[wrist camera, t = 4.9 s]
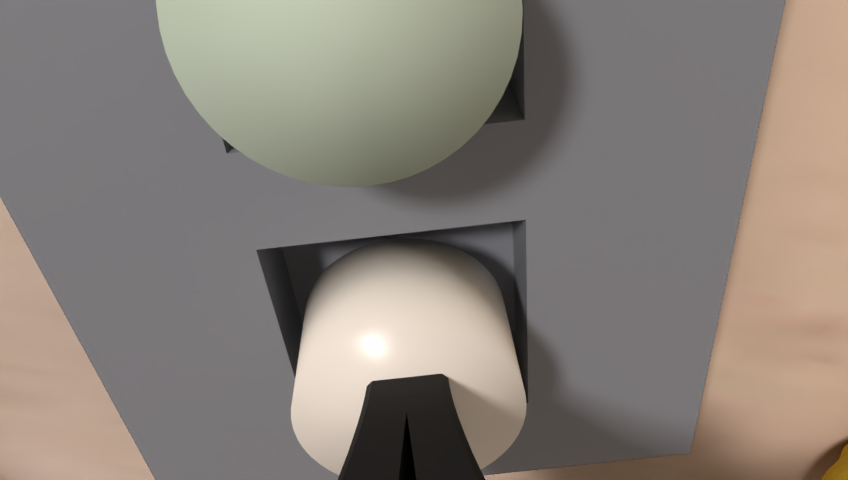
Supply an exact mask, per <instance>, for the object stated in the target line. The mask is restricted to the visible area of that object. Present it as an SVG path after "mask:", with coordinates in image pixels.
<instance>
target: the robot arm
mask: <svg viewBox="0 0 848 480" xmlns="http://www.w3.org/2000/svg"><path fill="white" fill-rule="evenodd" d="M338 480H485V478H484V476H483V474H482V472H481V470H480V467H479V465H478V463H477V461H476V459H475V457H474V454H473V452H472V450H471V448H470V445H469V443H468V441H467V438H466V436H465V433H464V430H463V428H462V425H461V422H460V420H459V417H458V414H457V411H456V408H455V405H454V401H453V398H452V394H451V390H450V385H449V379H448V377H447V376H445V375H443V374H442V373H441V374H432V375H423V376H414V377H405V378H395V379H386V380H377V381H372V382H371V383H370V384H369V385H368V386H367V388H366V393H365V398H364V402H363V406H362V410H361V413H360V417H359V420H358V424H357V427H356V430H355V433H354V436H353V439H352V442H351V445H350V448H349V451H348V454H347V456H346V459H345V462H344V464H343V467H342V470H341V472H340V475H339V477H338Z"/></svg>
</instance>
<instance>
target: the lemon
mask: <svg viewBox="0 0 848 480" xmlns="http://www.w3.org/2000/svg"><path fill="white" fill-rule="evenodd" d="M821 480H848V444H846V445H845V446H844V447H843V449H842V452H841V455H840V458H839V460H838V461H837V462H835V463H834V464H833V465H832V466H831V467H830V468H829V469H828V470H827V471H826V473H825V474H824V475H823V477H822V478H821Z"/></svg>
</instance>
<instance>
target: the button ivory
mask: <svg viewBox="0 0 848 480" xmlns="http://www.w3.org/2000/svg"><path fill="white" fill-rule="evenodd" d="M441 373H442V374H443V375H445V376H447V377H448V379H449V385H450V390H451V394H452V398H453V401H454V405H455V408H456V411H457V414H458V417H459V420H460V422H461V425H462V428H463V430H464V433H465V436H466V438H467V441H468V443H469V445H470V448H471V450H472V452H473V454H474V457H475V459H476V461H477V463H478V465H479V467H480V470H481V469H483V468H485V467H486V466H488V465H489V464H491V463H492V462H494V461H495V460H496V459H497V458H499V457H500V456H501V455H502V454H503V453H504V452H505V451H506V450H507V449H508V448H509V447H510V446H511V445H512V444H513V442H514V441H515V439H516V438H517V436H518V435H519V433H520V431H521V428H522V426H523V423H524V420H525V416H526V406H527V404H526V395H525V390H524V386H523V382H522V378H521V373H520V369H519V365H518V360H517V356H516V352H515V347H514V343H513V339H512V334H511V330H510V326H509V321H508V317H507V313H506V308H505V304H504V300H503V296H502V293H501V290H500V288H499V286H498V284H497V282H496V280H495V279H494V277H493V276H492V274H491V273H490V272H489V271H488V270H487V269H486V268H485V267H484V266H483V265H482V264H481V263H480V262H479V261H478V260H476V259H475V258H474V257H472V256H471V255H469V254H467V253H465V252H464V251H462V250H460V249H458V248H455V247H453V246H450V245H448V244H444V243H440V242H437V241H432V240H426V239H415V238H401V239H390V240H384V241H378V242H375V243H371V244H368V245H364V246H362V247H360V248H357V249H355V250H352V251H351V252H349V253H347V254H345V255H343V256H342V257H340V258H339V259H337V260H336V261H335V262H333V263H332V264H331V265H330V266H329V267H328V268H327V269H326V270H325V271H324V272H323V273H322V274H321V275H320V276H319V278H318V279H317V280H316V282H315V283H314V285H313V287H312V289H311V291H310V293H309V296H308V299H307V302H306V308H305V315H304V322H303V329H302V336H301V342H300V349H299V356H298V363H297V370H296V377H295V384H294V391H293V398H292V405H291V421H292V426H293V430H294V432H295V435H296V437H297V439H298V441H299V443H300V444H301V446H302V447H303V449H304V450H305V451H306V452H307V453H308V454H309V455H310V456H311V457H312V458H313V459H314V460H315V461H317V462H318V463H319V464H320V465H322V466H323V467H325V468H326V469H328V470H329V471H331V472H333V473H335V474H337V475H340V472H341V470H342V467H343V464H344V462H345V459H346V456H347V454H348V451H349V448H350V445H351V442H352V439H353V436H354V433H355V430H356V427H357V424H358V420H359V417H360V413H361V410H362V406H363V402H364V398H365V393H366V388H367V386H368V385H369V384H370V383H371V382H372V381H377V380H386V379H395V378H405V377H414V376H423V375H432V374H441Z"/></svg>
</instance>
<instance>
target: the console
mask: <svg viewBox="0 0 848 480" xmlns="http://www.w3.org/2000/svg"><path fill="white" fill-rule="evenodd" d="M784 5H785V0H522V7H523V16H522V35H521V40H520V46H519V51H518V57H517V60H516V63H515V66H514V69H513V72H512V76H511V78H510V81H509V83H508V85H507V87H506V89H505V91H504V94H503V96H502V98H501V99H500V101H499V103H498V104H497V106H496V107H495V109H494V111H493V112H492V114H491V115H490V117H489V118H488V119H487V120H486V122H485V123H484V124H483V125H482V127H481V128H480V129H479V130H478V131H477V133H476V134H475V135H473V136H472V137H471V138H470V139H469V140H468V141H467V142H466V143H465V144H464V145H463V146H462V147H461V148H459V149H458V150H457V151H455V152H454V153H453V154H451V155H450V156H449V157H447V158H446V159H444V160H443V161H441V162H439V163H437V164H436V165H434V166H432V167H430V168H429V169H427V170H424V171H422V172H420V173H417V174H415V175H412V176H410V177H407V178H404V179H400V180H397V181H393V182H390V183H384V184H379V185H373V186H361V187H338V186H326V185H320V184H314V183H308V182H305V181H301V180H298V179H294V178H291V177H288V176H285V175H283V174H280V173H278V172H275V171H273V170H271V169H268V168H266V167H265V166H263V165H261V164H259V163H257V162H255V161H254V160H252V159H250V158H248V157H247V156H245V155H244V154H243V153H241V152H240V151H238V150H237V149H236V148H234V147H233V146H231V145H230V144H229V143H228V142H227V141H226V140H224V139H223V138H222V137H221V136H220V135H219V134H218V133H216V132H215V131H214V130H213V129H212V127H211V126H210V125H209V124H208V123H207V122H206V121H205V120H204V119H203V117H202V116H201V115H200V114H199V113H198V111H197V110H196V109H195V107H194V106H193V104H192V103H191V102H190V100H189V99H188V97H187V96H186V95H185V93H184V91H183V89H182V87H181V85H180V84H179V82H178V80H177V78H176V76H175V75H174V72H173V70H172V67H171V65H170V62H169V60H168V57H167V55H166V52H165V49H164V45H163V41H162V37H161V33H160V30H159V23H158V15H157V8H156V0H0V197H1V199H2V201H3V203H4V204H5V206H6V208H7V210H8V212H9V214H10V215H11V217H12V219H13V221H14V223H15V225H16V226H17V228H18V230H19V232H20V234H21V235H22V237H23V239H24V241H25V243H26V245H27V246H28V248H29V250H30V252H31V254H32V256H33V257H34V259H35V261H36V263H37V265H38V267H39V268H40V270H41V272H42V274H43V276H44V277H45V279H46V281H47V283H48V285H49V287H50V288H51V290H52V292H53V294H54V296H55V298H56V299H57V301H58V303H59V305H60V307H61V308H62V310H63V312H64V314H65V316H66V318H67V319H68V321H69V323H70V325H71V327H72V329H73V330H74V332H75V334H76V336H77V338H78V340H79V341H80V343H81V345H82V347H83V349H84V350H85V352H86V354H87V356H88V358H89V360H90V361H91V363H92V365H93V367H94V369H95V371H96V372H97V374H98V376H99V378H100V380H101V381H102V383H103V385H104V387H105V389H106V391H107V392H108V394H109V396H110V398H111V400H112V402H113V403H114V405H115V407H116V409H117V411H118V412H119V414H120V416H121V418H122V420H123V422H124V423H125V425H126V427H127V429H128V431H129V433H130V434H131V436H132V438H133V440H134V442H135V444H136V445H137V447H138V449H139V451H140V453H141V454H142V456H143V458H144V460H145V462H146V464H147V465H148V467H149V469H150V471H151V473H152V475H153V476H154V478H155V480H338V477H339V475H337V474H335V473H333V472H331V471H329V470H328V469H326V468H325V467H323V466H322V465H320V464H319V463H318V462H317V461H315V460H314V459H313V458H312V457H311V456H310V455H309V454H308V453H307V452H306V451H305V450H304V449H303V447H302V446H301V444H300V443H299V441H298V439H297V437H296V435H295V432H294V430H293V426H292V421H291V405H292V398H293V391H294V384H295V377H296V370H297V363H298V356H299V349H300V342H301V336H302V329H303V322H304V315H305V308H306V302H307V299H308V296H309V293H310V291H311V289H312V287H313V285H314V283H315V282H316V280H317V279H318V278H319V276H320V275H321V274H322V273H323V272H324V271H325V270H326V269H327V268H328V267H329V266H330V265H331V264H332V263H333V262H335V261H336V260H337V259H339V258H340V257H342V256H343V255H345V254H347V253H349V252H351V251H352V250H355V249H357V248H360V247H362V246H364V245H368V244H371V243H375V242H378V241H384V240H390V239H401V238H415V239H426V240H432V241H437V242H440V243H444V244H448V245H450V246H453V247H455V248H458V249H460V250H462V251H464V252H465V253H467V254H469V255H471V256H472V257H474V258H475V259H476V260H478V261H479V262H480V263H481V264H482V265H483V266H484V267H485V268H486V269H487V270H488V271H489V272H490V273H491V274H492V276H493V277H494V279H495V280H496V282H497V284H498V286H499V288H500V290H501V293H502V296H503V300H504V304H505V308H506V313H507V317H508V321H509V326H510V330H511V334H512V339H513V343H514V347H515V352H516V356H517V360H518V365H519V369H520V373H521V378H522V382H523V386H524V390H525V395H526V404H527V406H526V416H525V420H524V423H523V426H522V428H521V431H520V433H519V435H518V436H517V438H516V439H515V441H514V442H513V444H512V445H511V446H510V447H509V448H508V449H507V450H506V451H505V452H504V453H503V454H502V455H501V456H500V457H499V458H497V459H496V460H495V461H494V462H492V463H491V464H489V465H488V466H486V467H485V468H483V469H481V472H482V474H483V475H491V474H501V473H510V472H519V471H529V470H538V469H548V468H557V467H567V466H576V465H586V464H595V463H605V462H614V461H624V460H633V459H643V458H652V457H662V456H671V455H680V454H690V452H691V447H692V443H693V438H694V433H695V428H696V424H697V419H698V414H699V409H700V404H701V400H702V395H703V390H704V385H705V381H706V376H707V371H708V366H709V362H710V357H711V352H712V347H713V343H714V338H715V333H716V328H717V324H718V319H719V314H720V309H721V305H722V300H723V295H724V290H725V286H726V281H727V276H728V271H729V266H730V262H731V257H732V252H733V247H734V243H735V238H736V233H737V228H738V224H739V219H740V214H741V209H742V205H743V200H744V195H745V190H746V186H747V181H748V176H749V171H750V167H751V162H752V157H753V152H754V147H755V143H756V138H757V133H758V128H759V124H760V119H761V114H762V109H763V105H764V100H765V95H766V90H767V86H768V81H769V76H770V71H771V67H772V62H773V57H774V52H775V48H776V43H777V38H778V33H779V29H780V24H781V19H782V14H783V9H784Z"/></svg>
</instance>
